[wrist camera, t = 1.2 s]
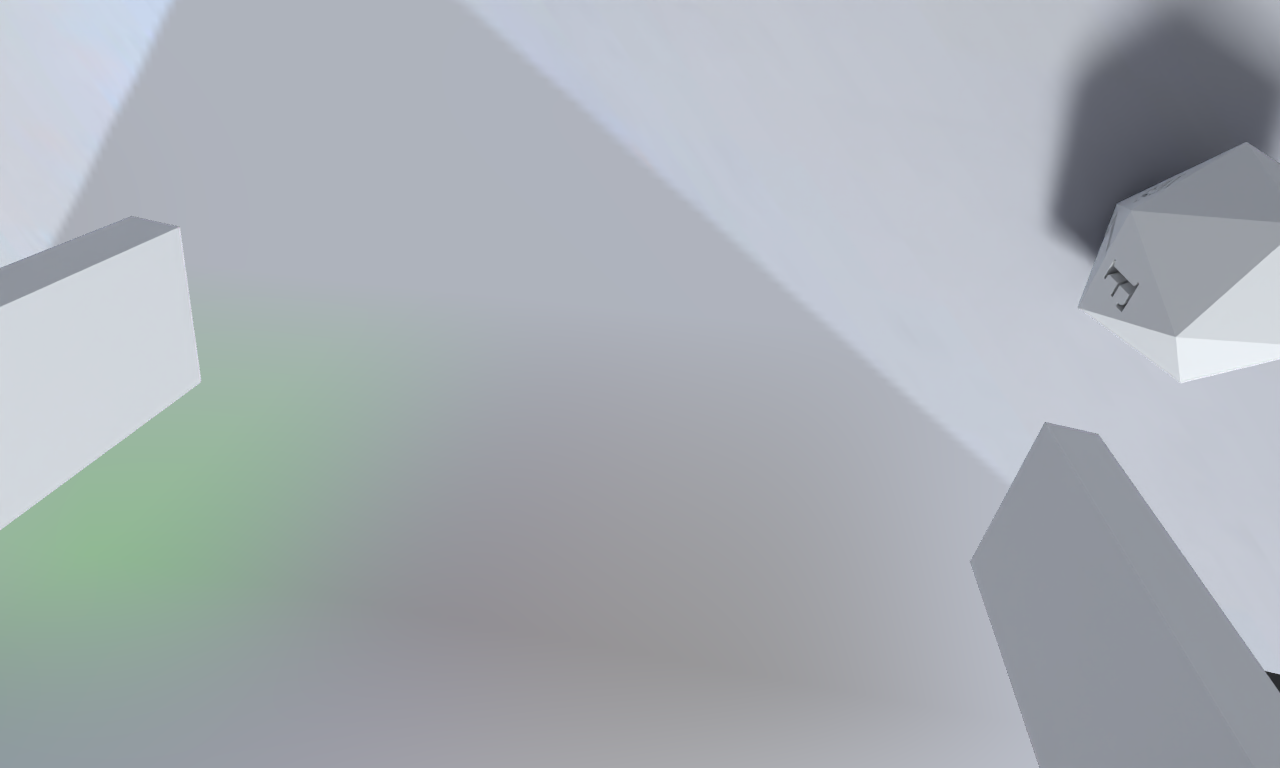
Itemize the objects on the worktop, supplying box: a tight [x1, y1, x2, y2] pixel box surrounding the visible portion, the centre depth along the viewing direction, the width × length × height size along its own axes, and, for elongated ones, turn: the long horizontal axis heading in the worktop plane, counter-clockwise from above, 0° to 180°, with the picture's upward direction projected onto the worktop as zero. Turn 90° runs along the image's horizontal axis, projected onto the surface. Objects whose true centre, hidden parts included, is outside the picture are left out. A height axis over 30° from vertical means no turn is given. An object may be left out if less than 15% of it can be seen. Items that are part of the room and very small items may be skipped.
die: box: [1078, 142, 1280, 383], centre depth 30 cm, size 8×9×10 cm
